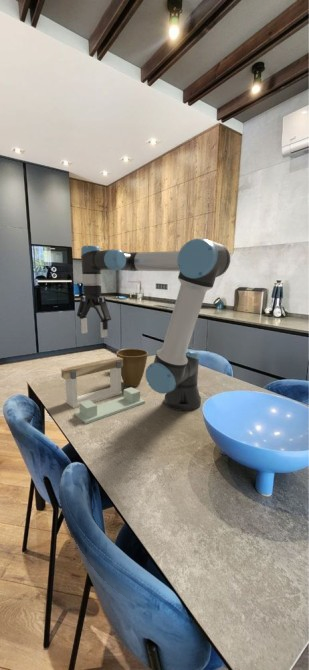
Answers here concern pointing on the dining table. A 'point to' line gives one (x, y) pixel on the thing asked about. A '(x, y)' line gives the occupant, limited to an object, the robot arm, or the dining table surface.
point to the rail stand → (97, 395)
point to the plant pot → (132, 365)
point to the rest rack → (108, 406)
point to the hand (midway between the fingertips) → (93, 335)
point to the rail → (91, 367)
